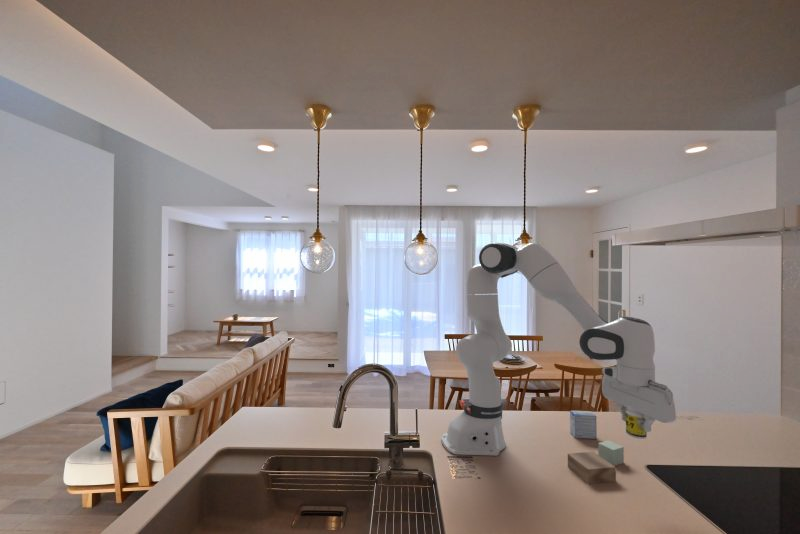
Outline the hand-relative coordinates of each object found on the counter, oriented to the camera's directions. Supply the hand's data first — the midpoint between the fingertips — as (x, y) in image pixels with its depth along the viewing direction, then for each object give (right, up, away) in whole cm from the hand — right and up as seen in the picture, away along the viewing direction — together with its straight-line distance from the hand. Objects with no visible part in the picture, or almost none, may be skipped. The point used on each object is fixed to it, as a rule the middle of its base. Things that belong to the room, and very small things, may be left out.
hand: (635, 425), depth 95 cm
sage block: (+3, -19, +15) cm, 24 cm away
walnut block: (-8, -18, +8) cm, 21 cm away
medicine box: (+3, -20, +33) cm, 38 cm away
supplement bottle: (0, -3, 0) cm, 3 cm away
